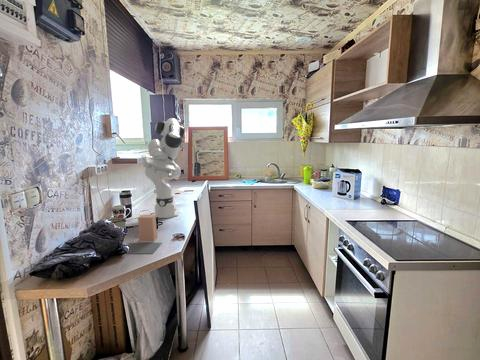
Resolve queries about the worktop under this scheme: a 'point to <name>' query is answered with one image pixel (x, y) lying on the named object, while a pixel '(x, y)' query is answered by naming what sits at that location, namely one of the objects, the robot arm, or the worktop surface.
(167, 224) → the worktop surface
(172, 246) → the worktop surface
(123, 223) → the food container
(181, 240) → the worktop surface
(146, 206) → the worktop surface
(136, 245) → the mat
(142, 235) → the terracotta block
